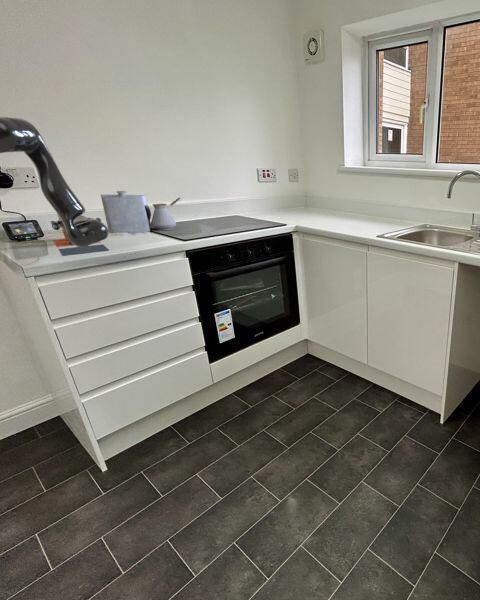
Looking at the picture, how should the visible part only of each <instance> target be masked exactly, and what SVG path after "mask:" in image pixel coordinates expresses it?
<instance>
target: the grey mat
mask: <svg viewBox="0 0 480 600" xmlns="http://www.w3.org/2000/svg"><path fill="white" fill-rule="evenodd" d="M58 251H59V253H60V254H61V256H62V257H66V256H67V257H68V256H74V255H83V254H84V255H85V254H91V253H99V252H100V253H101V252H108V251H110V249H109V248H108V247H107V246H105V244H92V245H89V246H86V247H78V246H75V247H73V246H72V247H65V248H64V247H63V248H58Z"/></svg>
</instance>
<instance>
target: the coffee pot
mask: <svg viewBox="0 0 480 600" xmlns="http://www.w3.org/2000/svg"><path fill="white" fill-rule="evenodd" d="M180 199H181V197H178V198H176V199H175V200H173V201H172V202H171V203H170V204H169V205H168V204H167V203H152V206H153V208H154V210H153V214H152V216H151V220H150V223H151V228H154V229H156V230H157V231H169V230H174V228H175V227H176V226H177V221H176V220H175V219H174V217H173V215H172V214H171V213H170V211H169V208H170V207H172V206H174V205H175V204H176V203H177V202H179V201H180Z"/></svg>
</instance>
